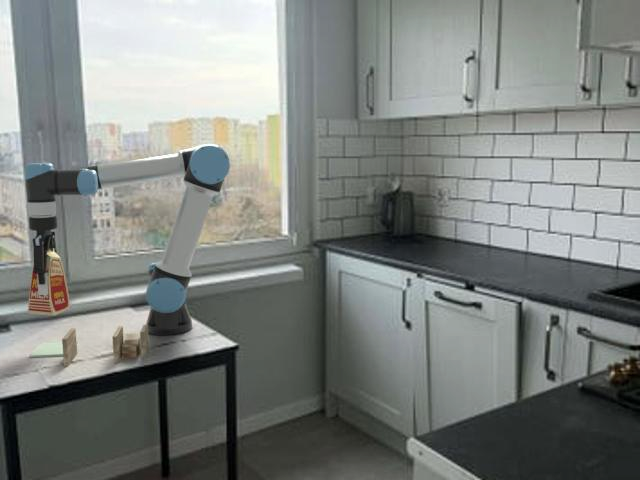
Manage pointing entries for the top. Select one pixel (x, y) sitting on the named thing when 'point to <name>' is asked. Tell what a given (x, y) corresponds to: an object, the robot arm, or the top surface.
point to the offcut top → (131, 339)
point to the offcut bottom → (131, 354)
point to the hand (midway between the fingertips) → (48, 290)
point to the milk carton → (50, 289)
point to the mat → (48, 350)
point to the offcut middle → (130, 348)
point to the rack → (118, 341)
